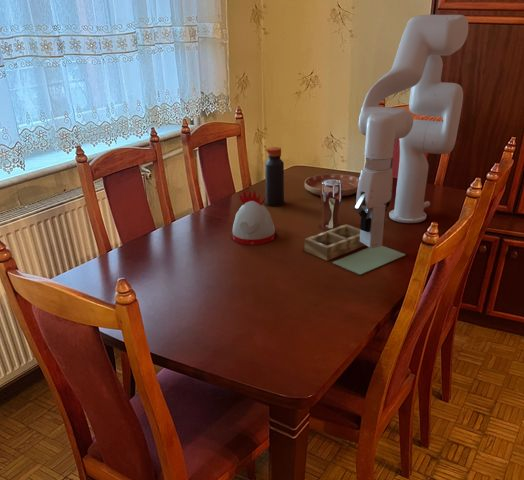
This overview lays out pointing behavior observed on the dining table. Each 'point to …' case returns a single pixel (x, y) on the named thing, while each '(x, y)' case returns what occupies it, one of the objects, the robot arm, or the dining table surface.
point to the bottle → (274, 177)
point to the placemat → (368, 259)
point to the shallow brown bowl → (347, 180)
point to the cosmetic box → (374, 228)
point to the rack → (334, 242)
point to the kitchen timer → (253, 222)
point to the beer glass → (330, 203)
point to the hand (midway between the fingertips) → (372, 227)
